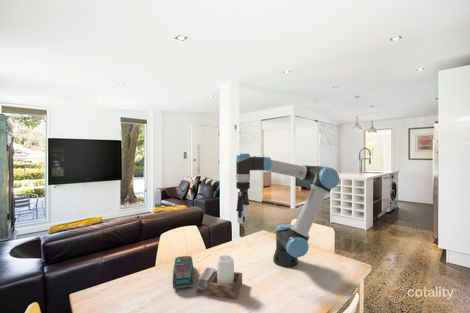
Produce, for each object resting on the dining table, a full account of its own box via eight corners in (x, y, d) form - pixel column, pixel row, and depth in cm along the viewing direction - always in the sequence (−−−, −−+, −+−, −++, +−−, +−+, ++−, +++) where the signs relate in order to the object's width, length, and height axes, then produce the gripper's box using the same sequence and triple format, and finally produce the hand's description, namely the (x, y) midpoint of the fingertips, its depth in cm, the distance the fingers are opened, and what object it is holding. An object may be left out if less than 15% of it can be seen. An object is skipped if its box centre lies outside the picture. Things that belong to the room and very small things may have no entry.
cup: (215, 283, 123) (215, 256, 122) (230, 280, 126) (230, 253, 126) (220, 292, 115) (220, 263, 115) (236, 288, 118) (236, 260, 118)
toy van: (192, 266, 145) (192, 250, 145) (193, 289, 120) (193, 269, 120) (174, 268, 143) (174, 251, 142) (172, 292, 118) (171, 272, 118)
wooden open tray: (242, 283, 126) (242, 271, 126) (235, 299, 112) (235, 285, 112) (206, 278, 131) (206, 266, 131) (196, 292, 117) (196, 279, 117)
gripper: (241, 178, 145) (241, 213, 145) (230, 184, 121) (230, 225, 121) (253, 179, 143) (253, 214, 143) (245, 184, 119) (245, 227, 119)
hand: (243, 219), depth 132 cm, fingers open, 13 cm apart
